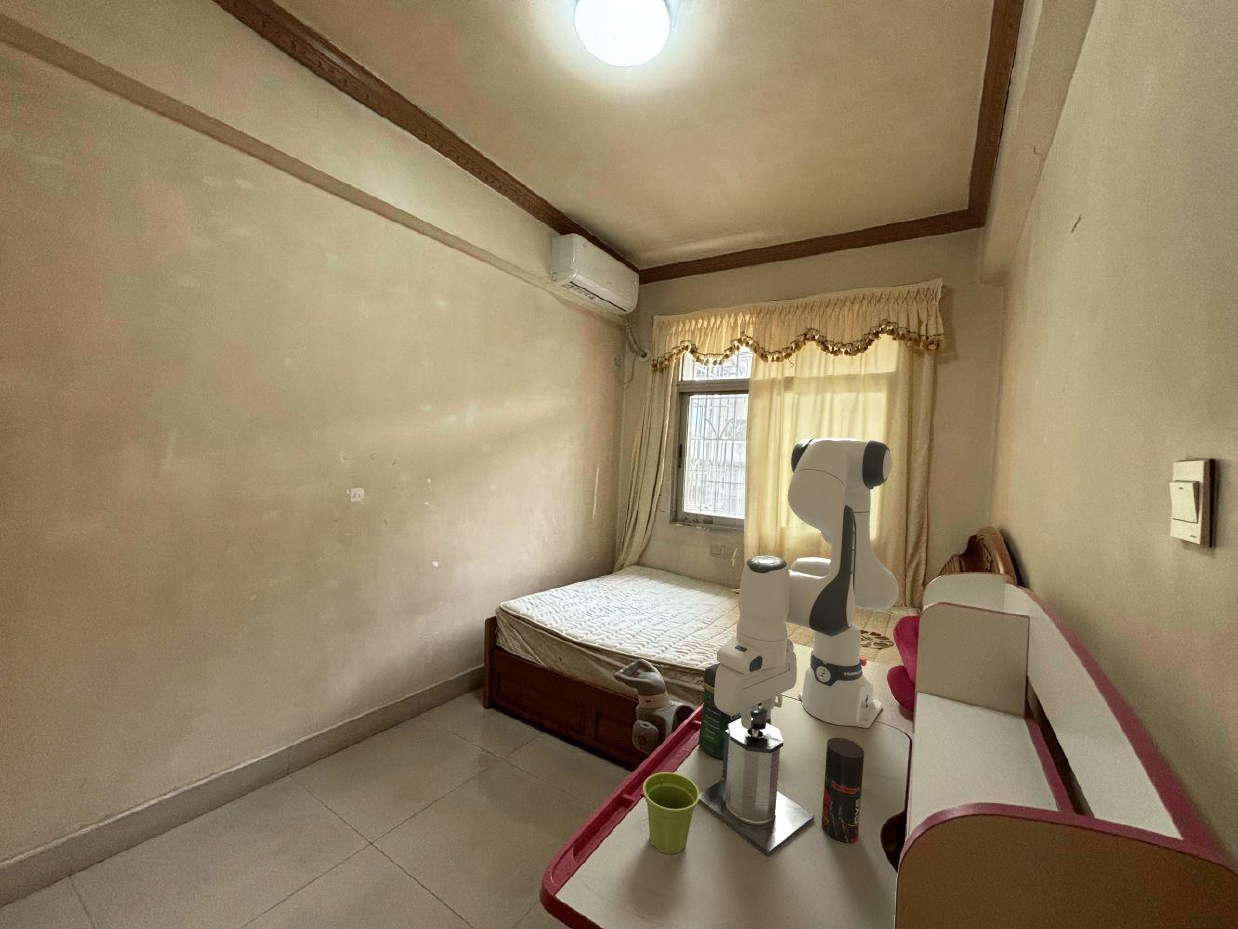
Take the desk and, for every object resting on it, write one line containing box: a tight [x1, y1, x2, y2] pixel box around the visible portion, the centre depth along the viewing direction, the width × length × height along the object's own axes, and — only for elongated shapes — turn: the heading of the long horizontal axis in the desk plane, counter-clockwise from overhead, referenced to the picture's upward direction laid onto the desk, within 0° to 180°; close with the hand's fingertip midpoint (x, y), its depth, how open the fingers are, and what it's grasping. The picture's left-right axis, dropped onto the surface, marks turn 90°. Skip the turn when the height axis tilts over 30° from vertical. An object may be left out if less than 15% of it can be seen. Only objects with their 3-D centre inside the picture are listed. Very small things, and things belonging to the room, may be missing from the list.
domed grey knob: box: [750, 706, 767, 737], centre depth 91 cm, size 4×4×14 cm
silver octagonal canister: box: [698, 718, 815, 857], centre depth 92 cm, size 14×16×15 cm
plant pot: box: [642, 771, 700, 855], centre depth 84 cm, size 9×9×9 cm
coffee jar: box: [698, 662, 741, 760], centre depth 111 cm, size 10×8×19 cm
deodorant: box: [821, 737, 865, 845], centre depth 88 cm, size 6×6×15 cm
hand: (755, 722), depth 91 cm, fingers closed on domed grey knob, 3 cm apart
